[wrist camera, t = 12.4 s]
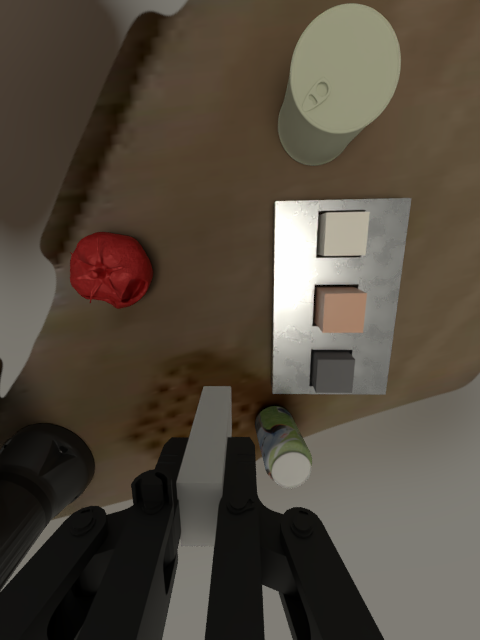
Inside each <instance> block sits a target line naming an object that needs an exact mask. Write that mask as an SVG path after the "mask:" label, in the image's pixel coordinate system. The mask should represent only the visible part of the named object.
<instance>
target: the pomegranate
mask: <svg viewBox="0 0 480 640" xmlns="http://www.w3.org/2000/svg"><path fill="white" fill-rule="evenodd" d="M70 253H71V252H70ZM71 254H72V253H71ZM152 277H153V269H152V266H151V263H150V260H149V258H148V257H147V255H146V253H145V251H144V250H143V248H142V246H141V245H140V244H139V242H138V241H137V240H136V239H134V238H133V237H130V236H125V235H120V234H113V233H109V232H97V233H94V234H92V235H88V236H86V237H85V238H83V239H81V240H80V241H79V243H78V244H77V247H76V249H75V251H74V253H73V254H72V257H71V260H70V282H71V285H72V287H74V288H75V290H76V291H77V292H78V293H79V294H80V295H81V296H82V297H84V298H86V299H90V303H91V299H96V300H103V301H106V302H107V303H110V304H112V305H113V306H114V307H115V308H117V309H120V308H123V307H128V306H131V305H133V304H134V303H136V302H137V301H138V300H140V299H141V298H142V297H143V296H144V295H145V293H146V292H147V290H148V288H149V285H150V283H151V281H152Z"/></svg>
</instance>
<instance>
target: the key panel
mask: <svg viewBox="0 0 480 640" xmlns="http://www.w3.org/2000/svg"><path fill="white" fill-rule="evenodd" d="M410 204H411V198H390V199H349V200H308V201H275V203H274V217H273V296H272V375H271V385H272V392H273V394H385V393H386V386H387V378H388V371H389V363H390V356H391V348H392V341H393V333H394V325H395V318H396V310H397V303H398V295H399V288H400V280H401V272H402V265H403V257H404V250H405V242H406V235H407V227H408V220H409V212H410ZM330 212H370V214H369V224H368V235H367V245H366V255H353V256H321V257H316V248H317V228H318V213H330ZM350 284H351V286H353V287H355V288H357V289H359V290H361V291H363V292H366V293H367V299H366V309H365V318H364V328H363V333H322V331H321V330H320V329H319V327H318V326H317V325H316V323H315V322H314V320H313V305H314V286H315V285H350ZM311 350H348V352H349V353H350V354H351V355H352V356H353V358H354V359H355V368H354V378H353V389H352V393H316V392H315V389H314V387H313V385H312V382H311V380H310V363H311Z"/></svg>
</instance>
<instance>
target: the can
mask: <svg viewBox="0 0 480 640" xmlns="http://www.w3.org/2000/svg"><path fill="white" fill-rule="evenodd" d="M400 66H401V56H400V47H399V43H398V40H397V37H396V34H395V32H394V30H393V28H392V27H391V25H390V24H389V22H388V21H387V20H386V19H385V18H384V17H383V16H382V15H381V14H380V13H379V12H377V11H376V10H374V9H373V8H370V7H368V6H365V5H361V4H342V5H338V6H335V7H333V8H330V9H328V10H326V11H325V12H323V13H322V14H320V15H319V16H318V17H317V18H315V19H314V20H313V21H312V22H311V23H310V24H309V26H308V27H307V28H306V29H305V31H304V32H303V34H302V35H301V37H300V39H299V41H298V43H297V45H296V47H295V50H294V53H293V57H292V61H291V67H290V76H289V81H288V85H287V90H286V94H285V98H284V102H283V105H282V107H281V110H280V113H279V119H278V133H279V137H280V141H281V143H282V145H283V147H284V149H285V151H286V152H287V153H288V154H289V155H290V156H291V157H292V158H293V159H294V160H296V161H297V162H300V163H302V164H305V165H313V166H314V165H322V164H325V163H328V162H330V161H332V160H333V159H335V158H336V157H337V156H339V155H340V154H341V153H342V152H343V150H344V149H345V148H346V146H347V145H348V144H349V143H350V142H351V141H352V140H353V139H354V138H355V137H356V136H357V135H358V134H359V133H360V132H361V131H362V130H363V129H364V128H365V127H366V126H367V125H368V124H370V123H371V122H372V121H374V120H375V119H376V118H377V117H378V116H379V115H380V114H381V113H382V112H383V110H384V109H385V108H386V106H387V105H388V103H389V102H390V100H391V98H392V96H393V94H394V92H395V89H396V86H397V83H398V80H399V75H400Z"/></svg>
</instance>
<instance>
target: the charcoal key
mask: <svg viewBox="0 0 480 640" xmlns="http://www.w3.org/2000/svg"><path fill="white" fill-rule="evenodd" d="M354 368H355V359H354V358H353V356H352V355H351V354H350V353H349V352H348V350H311V363H310V380H311V382H312V385H313V387H314V389H315V392H316V393H352V389H353V378H354Z"/></svg>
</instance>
